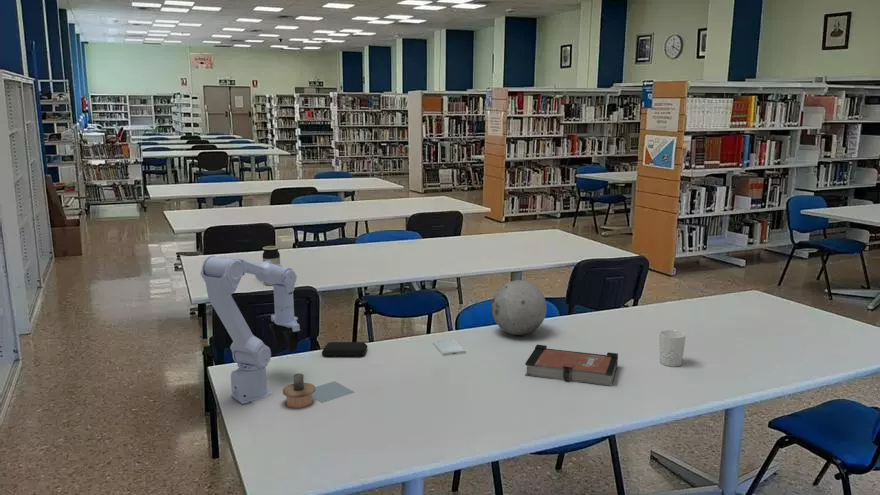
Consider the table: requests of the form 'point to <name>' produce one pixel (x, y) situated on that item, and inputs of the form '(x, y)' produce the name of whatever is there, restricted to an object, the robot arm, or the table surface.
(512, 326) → the moon model
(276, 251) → the travel mug
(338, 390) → the mat
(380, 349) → the table surface
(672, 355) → the white cup
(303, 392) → the lid
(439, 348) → the hard drive
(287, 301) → the robot arm
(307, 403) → the bowl
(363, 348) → the carrying case or bag
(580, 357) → the book
